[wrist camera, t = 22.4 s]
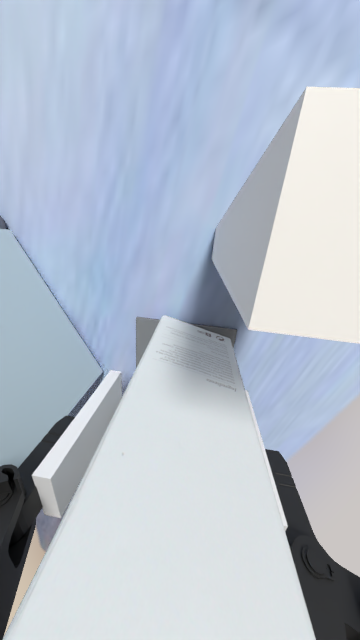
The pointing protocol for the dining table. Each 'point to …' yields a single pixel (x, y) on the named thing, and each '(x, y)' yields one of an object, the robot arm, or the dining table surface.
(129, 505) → the skincare box
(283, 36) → the dining table surface
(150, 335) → the mat
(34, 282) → the door
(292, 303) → the wall
